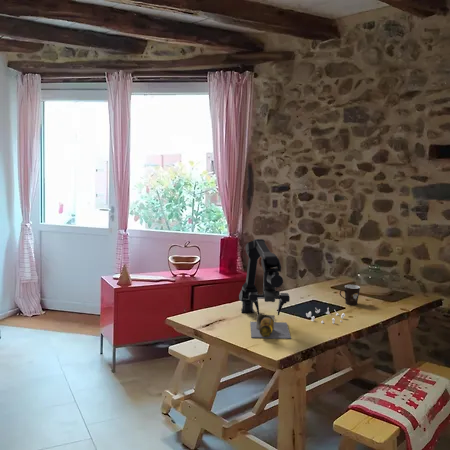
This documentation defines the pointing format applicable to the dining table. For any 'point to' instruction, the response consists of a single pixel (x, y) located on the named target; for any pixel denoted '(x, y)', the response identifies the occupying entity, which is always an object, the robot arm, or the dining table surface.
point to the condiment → (265, 324)
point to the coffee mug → (351, 294)
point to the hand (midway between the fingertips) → (268, 314)
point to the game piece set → (327, 313)
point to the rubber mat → (278, 332)
